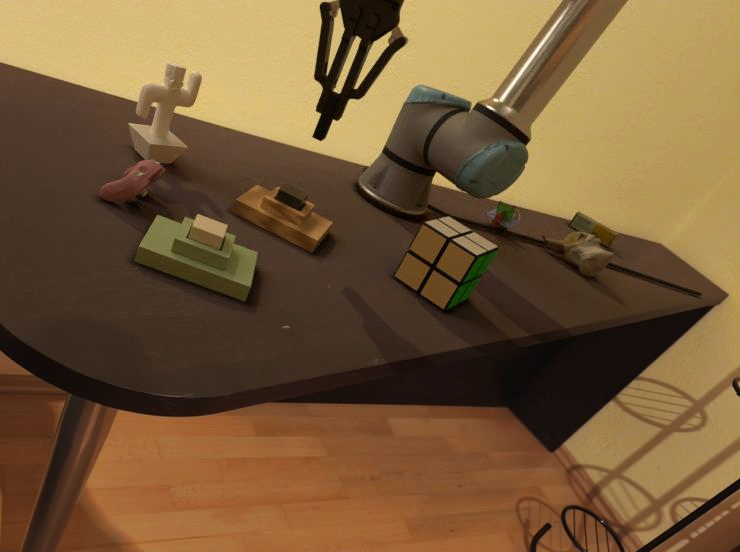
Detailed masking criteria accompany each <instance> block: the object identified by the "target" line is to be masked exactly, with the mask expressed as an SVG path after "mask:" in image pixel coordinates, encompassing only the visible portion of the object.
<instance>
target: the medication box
mask: <svg viewBox="0 0 740 552" xmlns="http://www.w3.org/2000/svg"><path fill="white" fill-rule="evenodd" d="M568 226H570V227H571V228H573V229H575V230H576V231H579V232H584V233H587V234H588V235H589V234H590V233H592V232H595V233H596V234H597V235H598V236H599V238H600V241H601V243H600V245H603V246H604V247H606V248H610V247H611V246H612V244H613V243H614V242H615V240H616V238H617V237H618V236H619V232H617V231H615V230H613V229H611V228H610V227H608V226H606V225H604V224H602V223H601V222H599V221H597V220H595V219H594V218H592V217H590V216H588V215H586V214H584V213H582V212H581V211H577V212H575V214H574V216H573V217H572V219H571V220H570V221H569V223H568Z"/></svg>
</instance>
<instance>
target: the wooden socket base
mask: <svg viewBox="0 0 740 552" xmlns="http://www.w3.org/2000/svg"><path fill="white" fill-rule="evenodd" d="M280 188H281V187H279V186H276V187H274V188H273V189H272V190H269V189H267V188H265V187H264V186H261V185H260V184H256V185H254V186H253V187H252V188H251V189H249V190H247V191H245V193H243V194H242V195H240V196H238V197H237V198H236V199H235V201H234V202H233V203H234V204H233V206H232V209H231V213H232V214H234V215H237V216H238V217H241V218H242V219H244V220H246V221H248V222H250V223H252V224H254V225H256V226H258V227H260V228H262V229H264V230H266V231H267V232H270V233H272V234H273V235H276V236H278V237H280V238H282V239H284V240H286V241H288V242H290V243H292V244H294V245H296V246H298V247H300V248H302V249H303V250H306V251H308V252H310V253H314V251H316V249H317V248H318V246H320V244H321V243H322V242H323V240H325V238H326V237H327V235H329V232H330V230H331V229H332V226H333V224H334V222H333V221H331V220H329V219H328V218H325V217H324V216H321V215H319V214H318V213H316V212H314V211H315V207H316V204H313V202H310V201H308V200H306V203H305V205H304V206H303V207H302V208H301V209H300V210H299V211H298V210H296V209H294V208H292V207H290V206H288V205H286V204H284V203H282V202H280V201H278V200H276V199H275V198H276V195H277V193H278V190H279V189H280Z"/></svg>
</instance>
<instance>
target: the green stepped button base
mask: <svg viewBox="0 0 740 552" xmlns="http://www.w3.org/2000/svg"><path fill="white" fill-rule="evenodd" d="M194 221H195V219H192V218H190V217H187V216H185V217H184V218H183V221H182V222H181V223H180V222H178V221H175V220H173V219H170V218H168V217H165V216H163V215H160V214H157V215H156V216H155V218H154V220H153V221H152V223H151V225H150V226H149V228H148V230H147V231H146V233H145V235H144V236H143V238H142V240H141V242H140V243H139V245H138V247H137V251H136V254H135V258H134V262H135V263H138V264H139V265H140V264H141V265H144V266H146V267H148V268H151V269H153V270H157V271H160V272H163V273H165V274H168V275H170V276H172V277H176V278H179V279H181V280H184V281H187V282H190V283H193V284H195V285H197V286H201V287H204V288H205V289H209V290H212V291H215V292H217V293H221V294H223V295H225V296H228V297H231V298H233V299H237V300H240V301H241V302H246V301H247V298H248V296H249V293H250V291H251V288H252V284H253V281H254V280H253V279H254V275H255V270H256V269H255V268H256V265H257V260H258V255H259V252H258V251H256V250H253V249H249V248H247V247H245V246H242V245H239V244H236V243H235V241H236V239H237V235H234V234H232V233H229V232H227V231H226V233H225V236H224V239H223V242H222V244H221V247H220V250H217V249H214V248H211V247H209V246H206V245H203V244H201V243H198V242H195V241H193V240H190V239H188V237H189V234H190V231H191V228H192V225H193V223H194Z"/></svg>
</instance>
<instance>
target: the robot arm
mask: <svg viewBox="0 0 740 552" xmlns="http://www.w3.org/2000/svg"><path fill="white" fill-rule="evenodd" d="M628 2H629V0H561V2H560V3H559V4H558V6H557V7H556V9H555V10H554V11H553V13H552V15H550V16H549V18H548V19H547V21H546V22H545V24H543V26H542V27H541V29H540V30H539V32H538V33H537V35H536V36H535V37H534V38H533V40H532V41H531V42H530V44H529V45H528V47H527V48H526V49H525V51H524V52H523V53H522V55H521V56H520V58H519V59H518V60H517V62H516V63H515V64H514V66H513V67H512V68H511V70H510V71H509V73H508V74H507V75H506V77H505V78H504V80H503V81H501V84H500V85H499V86H498V88H497V89H496V90H495V91H494V93H493V94H492V96H491V97H489V98H486V99H482V100H478V101H476V103H475V104H474V106H473V107H472V105H473V104H472V101H470V100H468V99H466V98H464V97H461V96H458V95H455V94H453V93H450V92H447V91H444V90H441V89H438V88H434V87H431V86H428V85H425V84H417V85H415V86H414V87H412V89H411V90H410V92H409V94H408V96H407V97H406V99H405V100H404V102H403V104H402V106H401V108H400V111H399V113H398V115H397V117H396V120H395V121H394V124H393V126H392V128H391V130H390V133H389V135H388V136H387V140H386V141H385V144H384V146H383V148H382V150H381V152H380V154H379V155H378V156H377V157H376V158H375V160H374V161H373V162H371V164H370V165H369V166H368V165H364V166H363V168H362V170H361V173H362V174H361V175H360V176H359V177H358V180H357V182H356V185H355V188H356V190H357V191H358V193H359V194H360V195H361V196H362V197H363V198H364V199H366V200H367V201H368V202H370V203H371V204H373V205H374V206H375V207H376V206H377V208H380V209H381V210H384V211H386V212H388V213H391V214H393V215H395V216H397V217H398V216H399V217H402V218H404V219H405V218H406V219H410V220H419V219H422V218H423V217H424V215H425V214H426V212H427V210H429V211H431V212H433V213H436V214H438V215H440V216H442V217H443V218H444V217H448V216H449V217H451V218H452V219H454V220H456V221H457V222H459V223H461V224H462V223H463V224H466V225H470V226H474V227H478V228H480V229H484V230H488V231H489V230H490V231H491V232H495V233H496V232H497V233H500V234H502V233H503V234H504V233H505V230H499V229H501V228H497V227H493V226H490V225H491V224H486V223H483V222H479V221H476V220H471V219H467V218H464V217H460V216H457V215H453V214H450V213H448V212H445V211H443V210H441V209H439V208H438V207H435V206H434V205H431V204H430V203H429V200H430V195H431V191H432V190H431V189H432V184H433V180H434V177H435V176H436V173H438V174H439V175H441V176H442V177H443V178H444V179H446V180H447V181H448V182H450V183H451V184H453V185H454V186H455V188H457V190H459V191H461V192H464V193H466V194H468V195H469V196H470V197H473V198H475V199H479V200H485V199H490V198H493V197H496V196H498V195H500V194H502V193H503V192H505V191H506V190H508V189H510V187H511V186H513V185H514V183H516V181H517V180H518V179H519V177H520V176H522V174H523V172H524V170H525V169H526V164H527V163H528V161H529V155H530V154H529V150H528V148H527V146H528V144H529V143H530V142H531V140H532V125H533V124H534V123H535V121H536V120H537V119H538V117H540V115H541V113H542V112H543V111H544V110H545V109H546V107H547V106H548V105H549V104H550V102H551V101H552V99H553V98H554V97H555V95H556V94H557V93H558V92H559V90H560V89H561V88H562V86H564V84H565V83H566V81H567V80H568V79H569V78H570V76H571V75H572V74H573V72H574V71H575V70H576V68H577V67H578V66H579V65H580V63H581V62H582V60H583V59H584V58H585V57H586V55H587V54H588V53H589V52H590V51H591V49H592V48H593V46H595V44H596V43H597V41H598V40H599V39H600V37H602V35H603V34H604V32H606V30H607V28H608V27H609V26H610V25H611V23H613V21H614V19H615V18H616V17H617V15H618V14H619V13H620V12H621V10H622V9H623V8H624V7H625V5H626V4H627V3H628ZM404 3H405V0H330V1H322V2H320V4H319V13H320V14H319V15H320V19H321V25H320V32H319V37H318V38H319V39H318V44H317V45H318V46H317V52H316V59H315V65H314V73H313V79H314V81H316V82H317V83H318V84H319V85H320V86H321V88H322V91H321V93H320V96H319V98H318V101H317V104H316V106H315V112H316V113H318V114H320V115H319V118H318V121H317V123H316V126H315V129H314V131H313V134H312V136H311V138H312V139H314V140H317V141H319V142H323V141H324V140H325V139H326V138H327V136H328V133H329V131H330V128H331V126H332V124H333V121H336V122H339V121H340V120H341V119H342V118H343V115H344V113H345V110H346V108H347V105H348V103H349V101H350V100H356V101H358V100H362V99H363V98H364V97H365V96H366V94H367V93H368V92H369V90H370V89H371V87H372V86H373V85H374V84H375V82H376V80H377V79H378V78H379V77H380V75H381V73H382V72H383V71H384V69H386V67H387V65H388V64H389V63H390V61H391V60H392V58H393V57H394V56H395V54H396V53H397V52H399V51H400V50H402V49H403V48H404V47H406V46H407V45H408V44H409V38H408V37H407V36H405V35H404V33H403V31H402V30H401V27H400V22H401V10H402V8H403V5H404ZM339 10H340V15H341V19H342V20H341V21H342V26H343V28H344V30H343V33H342V36H341V40H340V43H339V45H338V48H337V51H336V52H335V55H334V57H333V60H332V62H331V65H330V68H329V71H328V67H329V61H330V54H331V49H332V48H331V47H332V41H333V35H334V29H335V19H336V18H337V17H338V16H339ZM390 32H391V34H390V36H389V37H388V39H387V44H388V46H386V48H385V49H384V50H383V52H382V53H381V54H380V55H379V57H378V59H376V61H375V63H374V64H373V66H372V67H371V68H370V70H369V71H368V72H367V74H366V76H365V77H364V78H363V80H362V81H361V83H360V84H359V85H358V87H357V88H355V87H356V85H357V83H358V80H359V78H360V75H361V73H362V71H363V69H364V65H365V63H366V61H367V58H368V55H369V53H370V51H371V49H372V47H373V45H374V43H375V42H377V41H379V40H380V39H381V38H383V37H384V36H386V35H388V34H389V33H390ZM357 37H358V38H359V39H360V40H359V43H358V48H357V50H356V53H355V55H354V58H353V60H352V63H351V65H350V68H349V70H348V73H347V75H346V77H345V79H344V83H343V86H342V88H341V90H340V92H339V93H338V92H337V91H335V89H336V88H337V84H338V81H339V79H340V76H341V74H342V71H343V70H344V69H343V68H344V66H345V64H346V61H347V59H348V56H349V54H350V51H351V48H352V46H353V44H354V42H355V41H356V38H357ZM506 231H507V232H506V233H507V234H506V236H507V235H508V236H511V237H514V238H518V239H522V240H525V241H528V242H532V243H535V244H539V245H542V246H544V247H545V246H546V247H548V246H547V245H546V243H545V241H544V240H543V239H539V238H535V237H532V236H528V235H525V234H523V233H522V234H521V233H518V232H515V231H512V230H511V231H510V230H509V229H507V230H506ZM503 234H502V235H503ZM607 266H608V267H611V268H614V269H616V270H620V271H623V272H626V273H628V274H631V275H633V276H634V275H635V276H637V277H640V278H643V279H646V280H648V281H651V282H655V283H658V284H661V285H664V286H666V287H670V288H673V289H676V290H679V291H682V292H685V293H689V294H692V295H695V296H698V297H702V295H703V293H702V292H699V291H697V290H694V289H690V288H688V287H684V286H681V285H677V284H675V283H672V282H669V281H666V280H663V279H661V278H660V279H659V278H657V277H654V276H652V275H648V274H645V273H642V272H639V271H637V270H633V269H631V268H627V267H625V266H622V265H619V264H616V263H613V262H611V261H610V262H609V264H608V265H607Z"/></svg>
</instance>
